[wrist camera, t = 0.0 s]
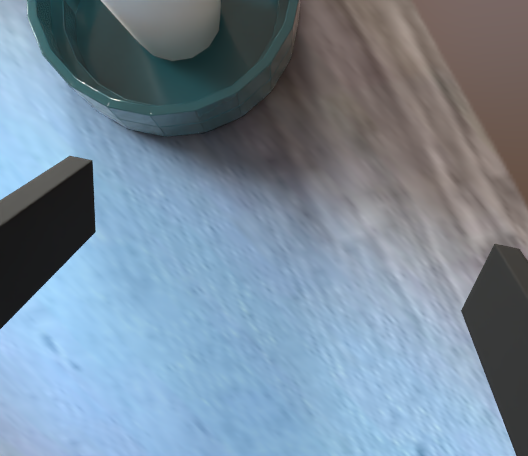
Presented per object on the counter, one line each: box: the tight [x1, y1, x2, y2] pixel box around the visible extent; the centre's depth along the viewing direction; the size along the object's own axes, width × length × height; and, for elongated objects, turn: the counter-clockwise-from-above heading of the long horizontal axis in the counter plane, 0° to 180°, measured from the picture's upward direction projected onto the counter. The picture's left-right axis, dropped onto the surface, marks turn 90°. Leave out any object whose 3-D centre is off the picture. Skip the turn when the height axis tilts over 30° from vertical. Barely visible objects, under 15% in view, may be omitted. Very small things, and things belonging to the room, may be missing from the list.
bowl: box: [27, 0, 301, 137], centre depth 29 cm, size 17×17×4 cm
